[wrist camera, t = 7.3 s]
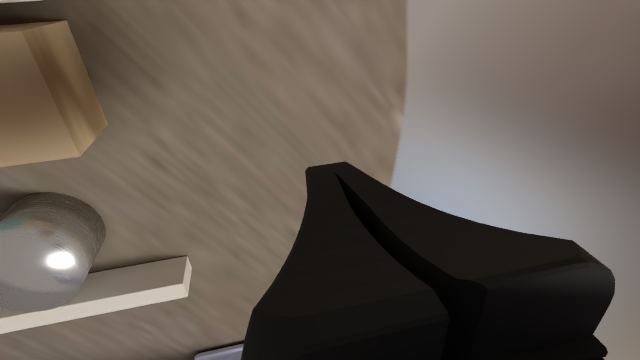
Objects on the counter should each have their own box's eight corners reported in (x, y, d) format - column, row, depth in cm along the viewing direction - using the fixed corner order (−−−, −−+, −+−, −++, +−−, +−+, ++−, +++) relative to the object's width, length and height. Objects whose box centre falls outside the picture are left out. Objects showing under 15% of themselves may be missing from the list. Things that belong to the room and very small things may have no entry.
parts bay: (191, 268, 24) (187, 296, 22) (-27, 309, 22) (-54, 344, 20) (88, -37, 15) (63, -40, 12) (-309, -17, 12) (-419, -16, 10)
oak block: (108, 123, 18) (80, 156, 15) (3, 136, 17) (-53, 174, 14) (67, 19, 16) (21, 31, 12) (-59, 29, 15) (-145, 44, 11)
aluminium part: (118, 251, 22) (97, 300, 19) (32, 266, 21) (-6, 320, 18) (86, 185, 19) (55, 228, 16) (-13, 199, 19) (-67, 248, 15)
